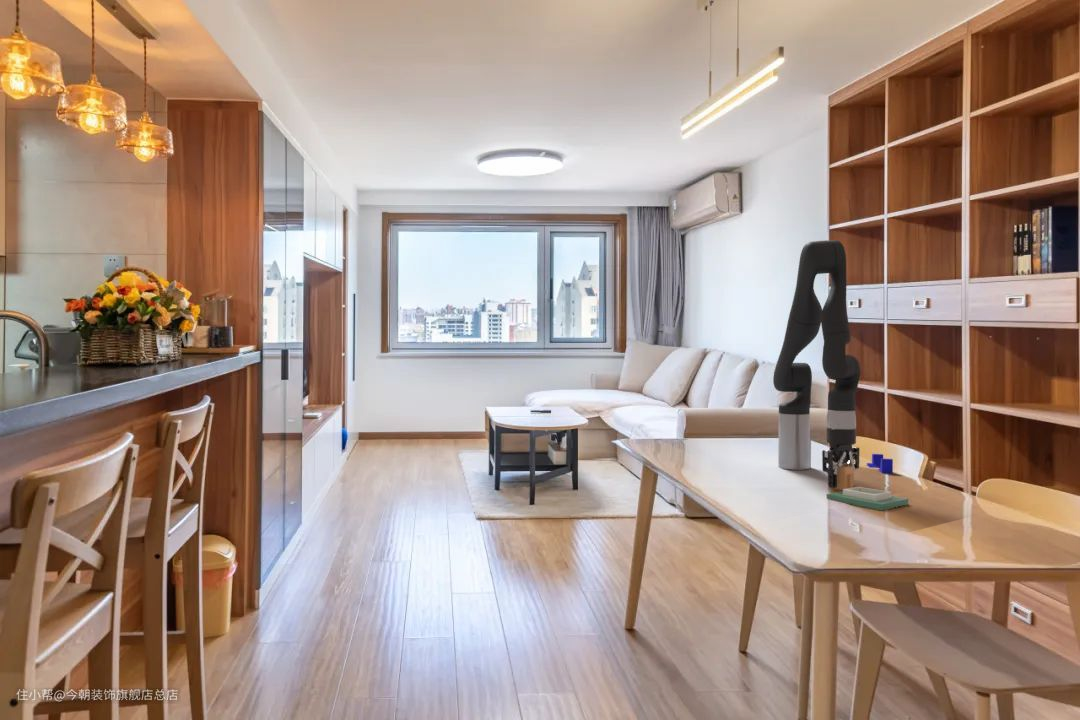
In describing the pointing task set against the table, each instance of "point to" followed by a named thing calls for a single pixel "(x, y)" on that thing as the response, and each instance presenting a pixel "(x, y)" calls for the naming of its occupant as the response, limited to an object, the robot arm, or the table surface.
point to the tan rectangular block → (845, 477)
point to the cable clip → (881, 463)
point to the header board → (868, 498)
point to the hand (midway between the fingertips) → (840, 486)
